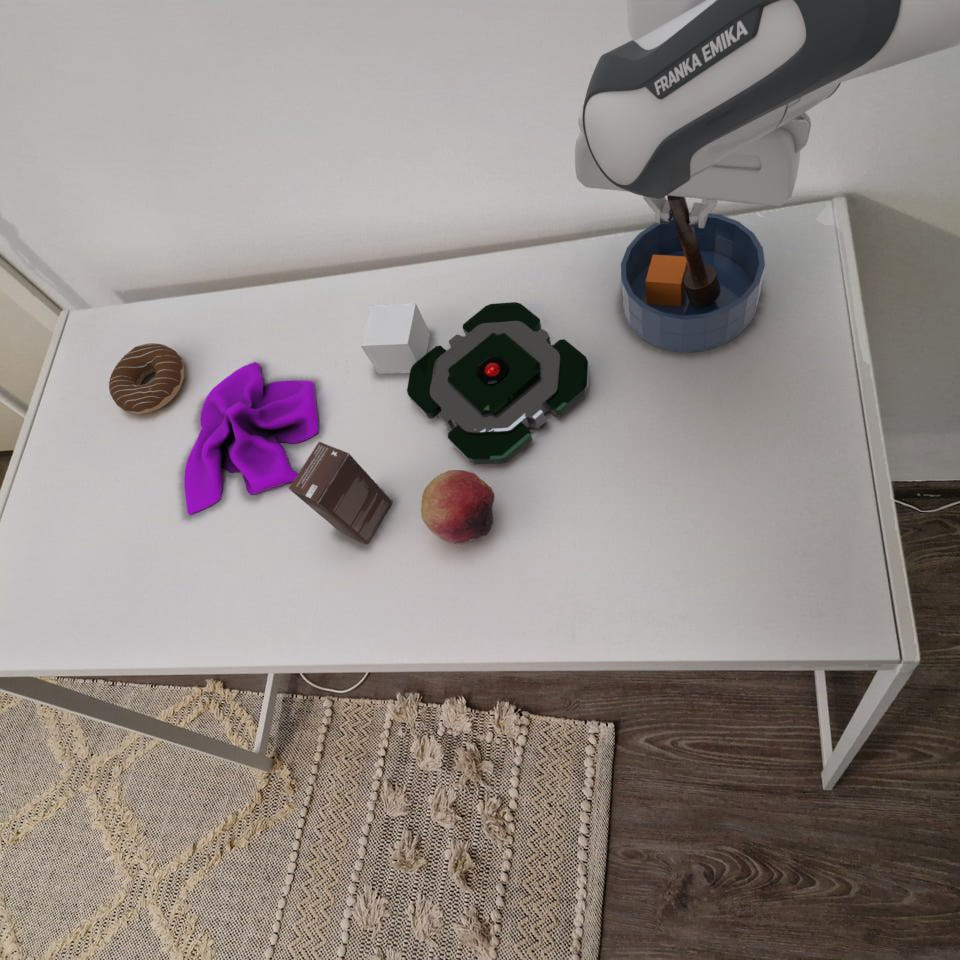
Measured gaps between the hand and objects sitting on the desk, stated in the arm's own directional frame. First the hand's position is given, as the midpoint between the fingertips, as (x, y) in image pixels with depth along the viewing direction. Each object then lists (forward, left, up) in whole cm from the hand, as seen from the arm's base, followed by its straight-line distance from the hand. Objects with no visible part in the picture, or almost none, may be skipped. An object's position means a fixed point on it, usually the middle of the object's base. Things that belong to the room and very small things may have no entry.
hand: (681, 221), depth 72 cm
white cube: (+31, +14, -13) cm, 37 cm away
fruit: (+14, +33, -13) cm, 38 cm away
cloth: (+46, +31, -13) cm, 57 cm away
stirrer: (-3, 0, -11) cm, 11 cm away
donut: (+65, +27, -13) cm, 72 cm away
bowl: (-1, -1, -13) cm, 13 cm away
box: (+26, +36, -13) cm, 46 cm away
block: (+2, -1, -12) cm, 12 cm away
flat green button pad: (+17, +16, -13) cm, 27 cm away
